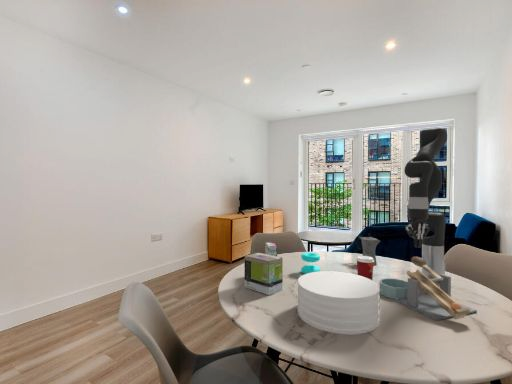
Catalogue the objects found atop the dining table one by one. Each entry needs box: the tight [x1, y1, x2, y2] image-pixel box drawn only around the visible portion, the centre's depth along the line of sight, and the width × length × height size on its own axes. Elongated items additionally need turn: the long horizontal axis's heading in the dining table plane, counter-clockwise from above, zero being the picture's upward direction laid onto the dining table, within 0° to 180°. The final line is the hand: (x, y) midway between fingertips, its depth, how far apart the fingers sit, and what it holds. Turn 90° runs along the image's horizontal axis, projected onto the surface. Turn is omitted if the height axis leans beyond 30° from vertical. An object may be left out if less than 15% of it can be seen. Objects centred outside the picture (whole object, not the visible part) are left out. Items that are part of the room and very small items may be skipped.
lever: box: [406, 256, 470, 320], centre depth 107 cm, size 30×16×4 cm, turn 19°
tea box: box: [244, 252, 284, 296], centre depth 125 cm, size 15×10×15 cm
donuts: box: [300, 252, 321, 275], centre depth 148 cm, size 10×10×10 cm
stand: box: [396, 274, 478, 322], centre depth 106 cm, size 17×20×10 cm
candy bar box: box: [264, 241, 278, 256], centre depth 143 cm, size 11×5×16 cm, turn 5°
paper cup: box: [355, 255, 374, 281], centre depth 125 cm, size 8×8×14 cm
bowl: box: [378, 277, 408, 300], centre depth 119 cm, size 12×12×5 cm
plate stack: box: [297, 270, 381, 335], centre depth 100 cm, size 28×28×12 cm
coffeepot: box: [354, 233, 381, 267], centre depth 167 cm, size 15×9×18 cm, turn 44°
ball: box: [451, 301, 462, 311], centre depth 94 cm, size 3×3×3 cm
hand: (417, 247), depth 120 cm, fingers closed
